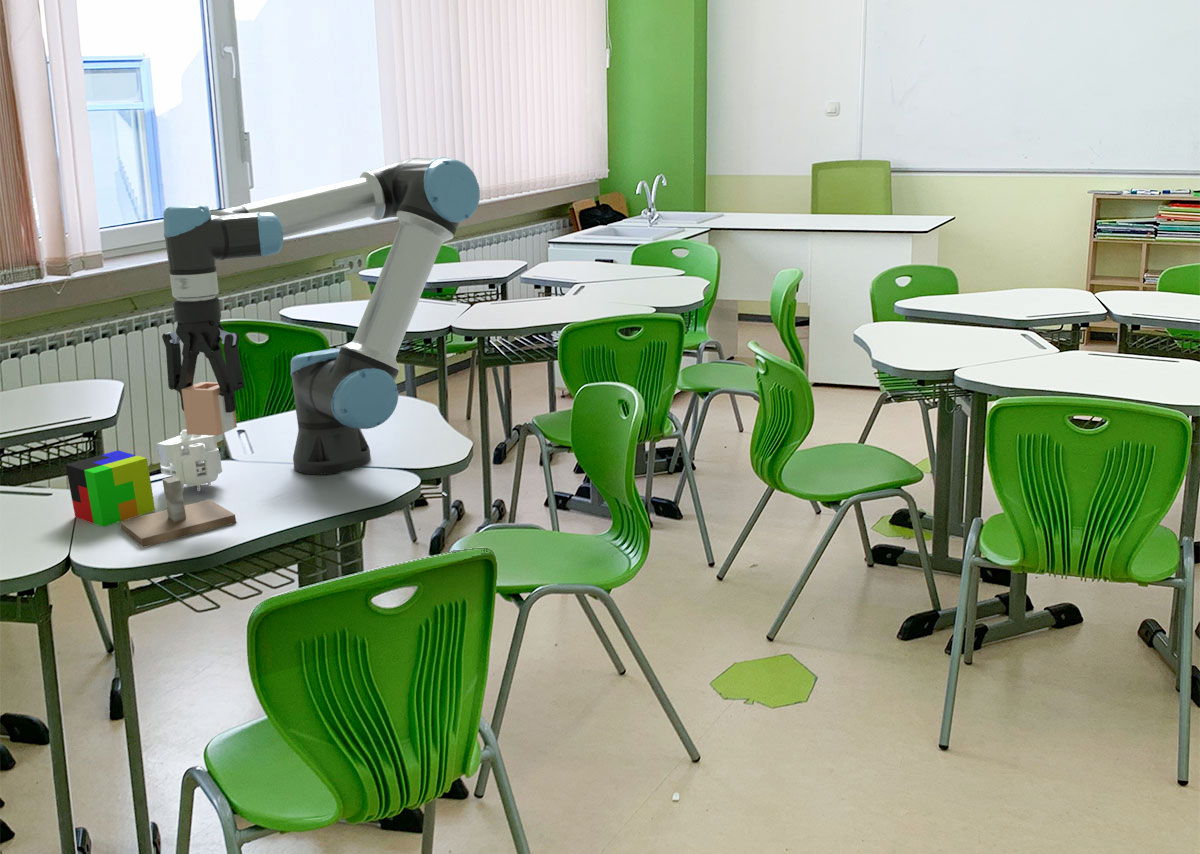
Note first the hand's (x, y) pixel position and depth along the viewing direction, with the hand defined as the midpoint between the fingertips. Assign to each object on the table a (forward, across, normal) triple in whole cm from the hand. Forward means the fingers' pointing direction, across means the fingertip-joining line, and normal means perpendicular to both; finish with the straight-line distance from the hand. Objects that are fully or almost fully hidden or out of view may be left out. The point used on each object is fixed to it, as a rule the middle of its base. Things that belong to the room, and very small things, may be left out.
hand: (211, 429), depth 204 cm
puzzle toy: (+16, -20, -2) cm, 26 cm away
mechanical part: (+16, -14, +13) cm, 25 cm away
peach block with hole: (0, 0, 0) cm, 0 cm away
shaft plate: (+16, -4, -7) cm, 18 cm away
